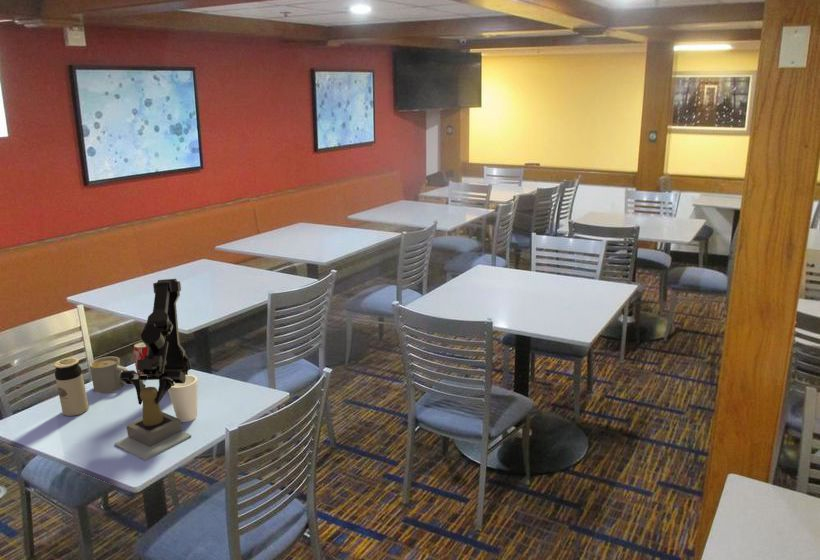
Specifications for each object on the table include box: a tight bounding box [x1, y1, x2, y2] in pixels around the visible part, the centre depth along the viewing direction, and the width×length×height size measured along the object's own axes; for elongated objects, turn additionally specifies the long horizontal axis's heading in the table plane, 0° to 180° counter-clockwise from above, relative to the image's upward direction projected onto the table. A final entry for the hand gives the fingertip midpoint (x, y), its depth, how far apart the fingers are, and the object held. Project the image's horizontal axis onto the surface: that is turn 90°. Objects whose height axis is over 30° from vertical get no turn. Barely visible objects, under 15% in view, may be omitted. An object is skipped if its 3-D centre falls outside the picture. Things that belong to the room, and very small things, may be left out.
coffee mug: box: [89, 355, 129, 394], centre depth 241 cm, size 13×10×10 cm
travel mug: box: [53, 357, 90, 417], centre depth 223 cm, size 8×8×18 cm
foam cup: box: [167, 374, 199, 423], centre depth 217 cm, size 10×9×13 cm
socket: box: [114, 410, 192, 461], centre depth 204 cm, size 16×16×5 cm
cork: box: [140, 386, 164, 426], centre depth 205 cm, size 6×6×11 cm
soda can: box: [132, 341, 148, 374], centre depth 251 cm, size 7×7×12 cm
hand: (148, 403), depth 204 cm, fingers closed on cork, 5 cm apart
